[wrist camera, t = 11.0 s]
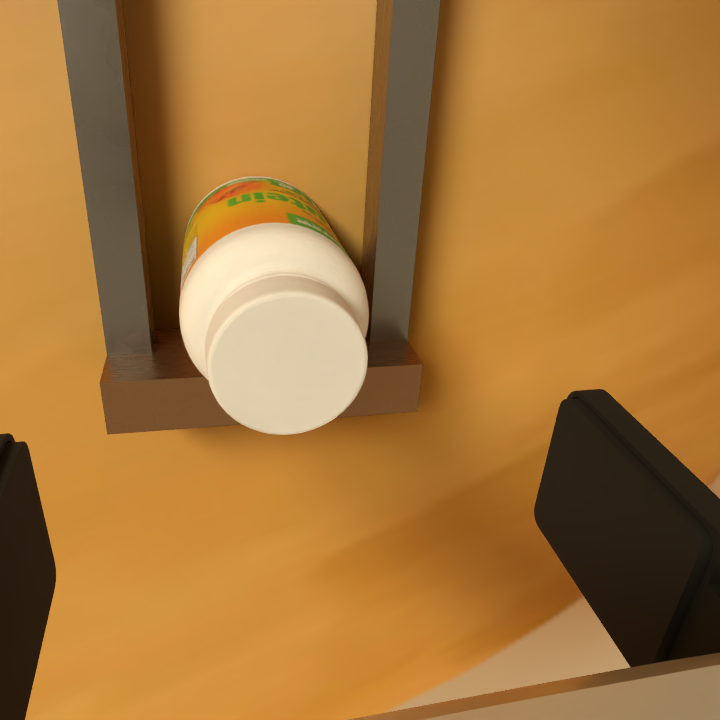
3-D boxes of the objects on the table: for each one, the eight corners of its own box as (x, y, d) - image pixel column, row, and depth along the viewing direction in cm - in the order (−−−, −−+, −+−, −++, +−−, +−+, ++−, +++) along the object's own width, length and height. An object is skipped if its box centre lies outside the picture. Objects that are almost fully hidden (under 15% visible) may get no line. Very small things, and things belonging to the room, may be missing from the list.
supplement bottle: (343, 190, 24) (423, 283, 15) (311, 321, 26) (366, 466, 18) (194, 158, 22) (193, 243, 14) (173, 301, 24) (162, 450, 16)
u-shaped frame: (-26, -718, 13) (-104, -974, 10) (470, -578, 16) (546, -745, 12) (119, 377, 25) (107, 434, 22) (390, 362, 28) (417, 411, 24)
